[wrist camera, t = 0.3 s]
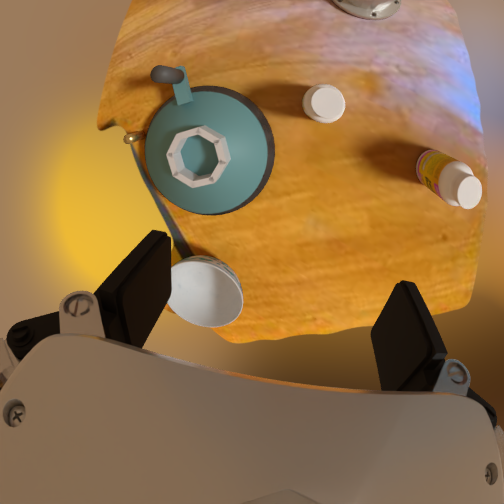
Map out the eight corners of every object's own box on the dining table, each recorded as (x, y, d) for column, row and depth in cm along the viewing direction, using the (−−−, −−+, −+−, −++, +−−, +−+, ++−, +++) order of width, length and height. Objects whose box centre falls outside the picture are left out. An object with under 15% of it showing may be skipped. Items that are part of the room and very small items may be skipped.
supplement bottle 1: (343, 112, 36) (357, 114, 28) (312, 126, 38) (318, 132, 30) (326, 81, 34) (336, 75, 26) (295, 96, 36) (295, 93, 28)
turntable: (130, 91, 37) (98, 93, 29) (244, 51, 32) (231, 37, 25) (169, 219, 48) (147, 243, 41) (279, 199, 44) (276, 222, 36)
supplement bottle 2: (407, 169, 39) (443, 194, 28) (429, 141, 35) (470, 157, 24) (431, 193, 40) (467, 224, 29) (452, 166, 36) (493, 191, 25)
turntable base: (130, 112, 40) (116, 114, 36) (257, 70, 35) (253, 66, 31) (166, 223, 50) (156, 234, 46) (287, 201, 45) (286, 212, 41)
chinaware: (265, 280, 54) (260, 306, 47) (213, 311, 60) (204, 337, 53) (211, 224, 49) (198, 245, 42) (163, 265, 55) (147, 287, 49)
